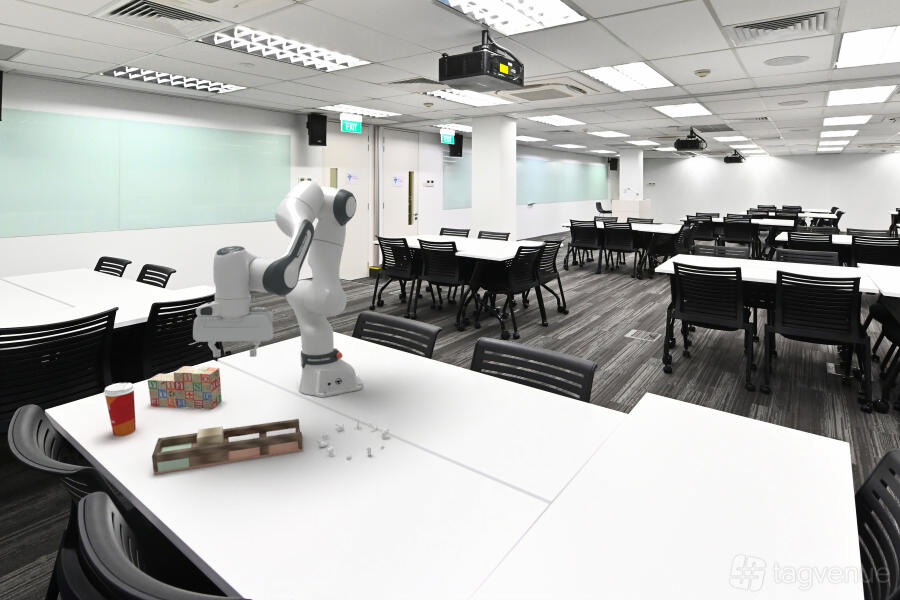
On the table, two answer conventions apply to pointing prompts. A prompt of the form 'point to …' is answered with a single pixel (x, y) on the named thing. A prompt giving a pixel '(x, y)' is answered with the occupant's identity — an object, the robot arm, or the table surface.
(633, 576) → the table surface
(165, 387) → the stack of blocks
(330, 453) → the game piece set
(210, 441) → the maple block
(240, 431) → the track
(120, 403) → the paper cup
